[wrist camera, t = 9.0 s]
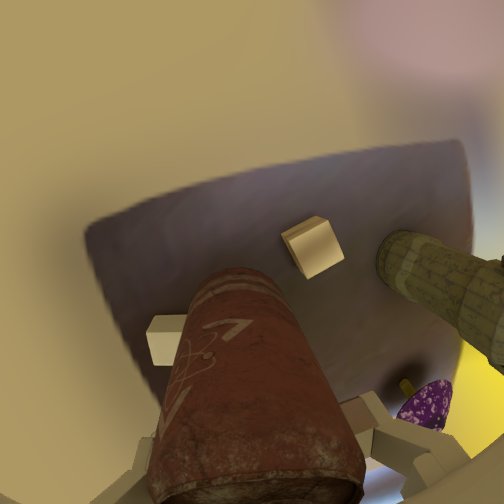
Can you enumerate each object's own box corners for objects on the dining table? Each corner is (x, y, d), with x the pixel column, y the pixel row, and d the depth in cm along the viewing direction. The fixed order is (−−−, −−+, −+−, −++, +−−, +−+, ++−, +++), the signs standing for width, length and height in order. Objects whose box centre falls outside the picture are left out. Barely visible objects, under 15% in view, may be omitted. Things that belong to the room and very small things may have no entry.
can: (197, 354, 19) (176, 547, 5) (186, 267, 17) (101, 466, 4) (283, 349, 19) (347, 532, 5) (284, 262, 18) (410, 439, 4)
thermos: (382, 304, 39) (550, 460, 5) (367, 232, 36) (616, 353, 2) (425, 281, 39) (595, 392, 5) (414, 212, 36) (636, 280, 2)
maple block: (330, 249, 36) (344, 258, 32) (297, 267, 37) (307, 279, 32) (314, 215, 35) (327, 220, 30) (280, 233, 35) (288, 241, 31)
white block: (194, 345, 38) (191, 365, 33) (161, 345, 38) (154, 365, 33) (189, 314, 37) (185, 331, 32) (154, 315, 36) (145, 332, 32)
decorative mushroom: (422, 341, 42) (472, 386, 27) (429, 380, 45) (468, 422, 30) (366, 380, 42) (405, 437, 28) (380, 414, 45) (412, 464, 31)
